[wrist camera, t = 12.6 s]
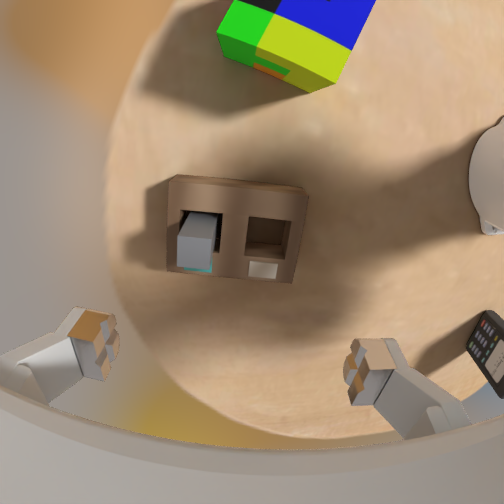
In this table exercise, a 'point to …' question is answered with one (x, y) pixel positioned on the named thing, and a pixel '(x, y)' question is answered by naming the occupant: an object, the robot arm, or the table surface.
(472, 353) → the card reader
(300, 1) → the puzzle toy
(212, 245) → the plug
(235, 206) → the socket block
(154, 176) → the table surface
